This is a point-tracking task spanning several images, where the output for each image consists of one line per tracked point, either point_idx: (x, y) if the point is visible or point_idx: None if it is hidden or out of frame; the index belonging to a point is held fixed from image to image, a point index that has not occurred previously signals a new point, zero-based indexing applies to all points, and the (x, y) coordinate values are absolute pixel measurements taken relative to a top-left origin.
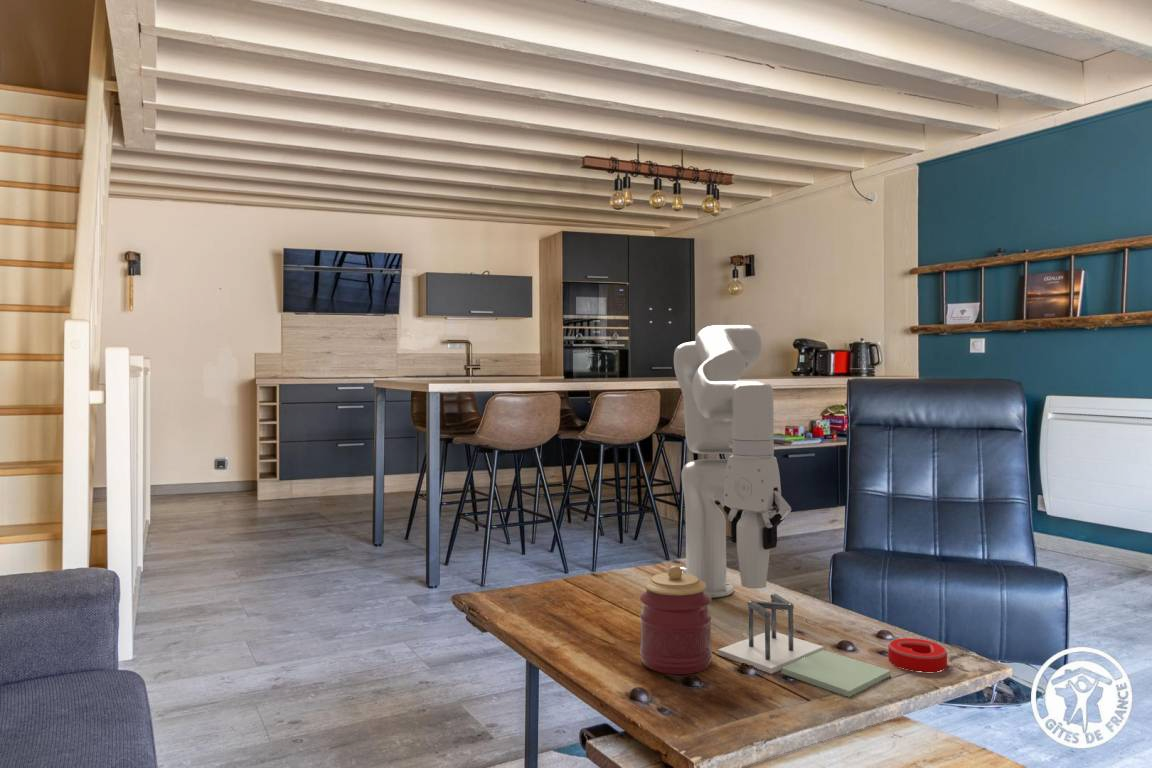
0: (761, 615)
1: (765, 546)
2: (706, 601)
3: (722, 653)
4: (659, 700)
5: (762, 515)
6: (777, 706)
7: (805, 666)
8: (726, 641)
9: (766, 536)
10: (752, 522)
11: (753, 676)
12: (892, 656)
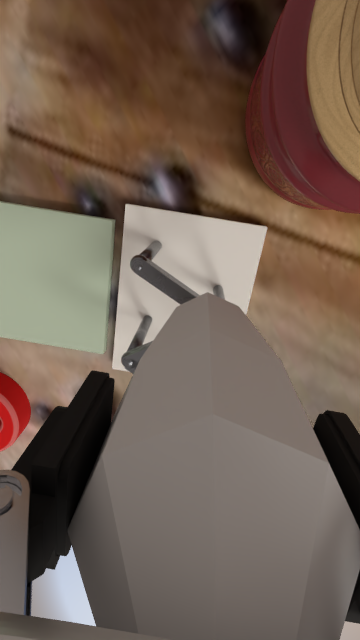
0: (161, 268)
1: (90, 376)
2: (281, 84)
3: (254, 224)
4: None
5: (19, 603)
6: (29, 47)
7: (83, 257)
8: (285, 305)
9: (62, 420)
10: (157, 500)
11: (148, 166)
12: (1, 384)
